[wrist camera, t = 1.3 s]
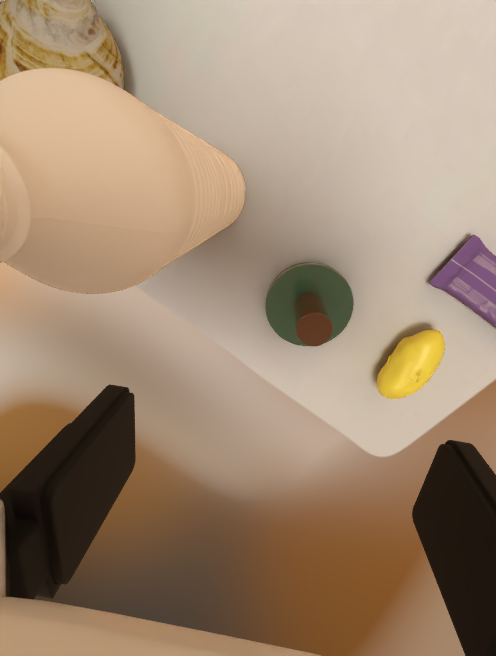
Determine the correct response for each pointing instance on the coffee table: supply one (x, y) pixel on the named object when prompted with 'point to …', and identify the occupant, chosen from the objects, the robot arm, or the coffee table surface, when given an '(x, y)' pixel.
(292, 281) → the lid
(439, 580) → the robot arm
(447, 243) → the coffee table surface
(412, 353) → the lemon
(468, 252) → the snack package
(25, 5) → the seashell
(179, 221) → the water bottle
